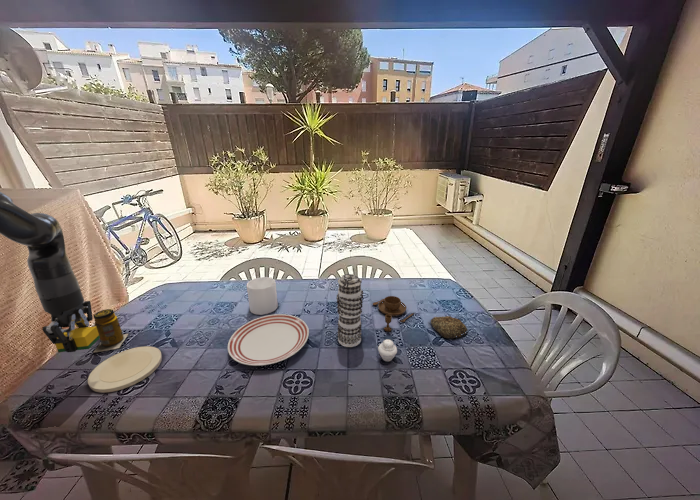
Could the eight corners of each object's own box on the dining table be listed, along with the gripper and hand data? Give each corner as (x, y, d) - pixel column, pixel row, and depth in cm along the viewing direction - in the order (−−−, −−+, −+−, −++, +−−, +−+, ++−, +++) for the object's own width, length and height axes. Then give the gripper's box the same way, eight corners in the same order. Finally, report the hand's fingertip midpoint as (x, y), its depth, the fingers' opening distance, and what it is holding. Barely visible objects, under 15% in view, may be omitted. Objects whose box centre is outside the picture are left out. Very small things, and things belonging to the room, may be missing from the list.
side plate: (72, 397, 75) (71, 394, 74) (111, 353, 91) (110, 350, 91) (146, 386, 78) (145, 383, 78) (170, 345, 95) (170, 342, 94)
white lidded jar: (398, 354, 91) (399, 337, 89) (394, 367, 86) (395, 349, 83) (380, 349, 93) (381, 332, 91) (375, 361, 88) (376, 344, 85)
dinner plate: (236, 385, 79) (234, 376, 77) (223, 334, 101) (222, 327, 100) (322, 352, 92) (321, 344, 91) (294, 313, 114) (293, 306, 113)
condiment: (128, 333, 101) (119, 305, 97) (119, 348, 93) (109, 318, 89) (104, 338, 99) (94, 309, 94) (93, 353, 91) (81, 323, 87)
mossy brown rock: (442, 341, 98) (443, 329, 96) (426, 321, 109) (427, 310, 107) (473, 336, 100) (476, 325, 98) (455, 317, 111) (457, 307, 110)
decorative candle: (367, 342, 97) (369, 279, 89) (345, 351, 92) (345, 285, 84) (353, 328, 104) (354, 269, 96) (332, 336, 100) (331, 275, 91)
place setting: (417, 312, 115) (418, 300, 113) (389, 333, 102) (390, 319, 100) (384, 297, 127) (385, 286, 125) (355, 315, 113) (355, 302, 111)
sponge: (58, 352, 73) (53, 340, 72) (71, 340, 78) (67, 329, 76) (88, 349, 75) (84, 336, 73) (100, 337, 79) (96, 326, 78)
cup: (246, 305, 120) (243, 281, 116) (272, 298, 126) (270, 274, 122) (254, 318, 111) (250, 292, 107) (281, 309, 117) (279, 284, 113)
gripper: (63, 280, 76) (81, 331, 82) (16, 305, 63) (42, 364, 69) (94, 277, 78) (110, 328, 84) (55, 302, 65) (77, 360, 70)
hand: (79, 344), depth 76 cm, fingers closed on sponge, 5 cm apart
